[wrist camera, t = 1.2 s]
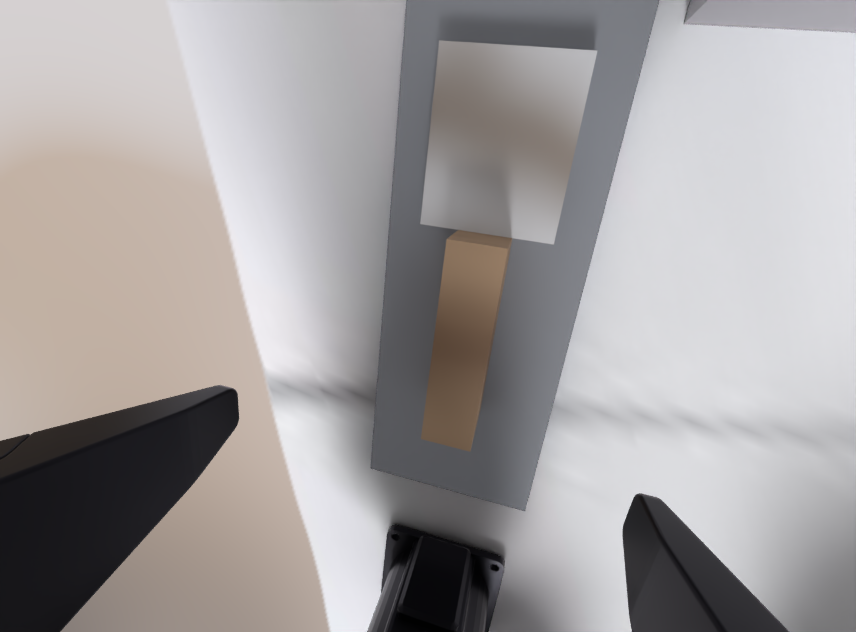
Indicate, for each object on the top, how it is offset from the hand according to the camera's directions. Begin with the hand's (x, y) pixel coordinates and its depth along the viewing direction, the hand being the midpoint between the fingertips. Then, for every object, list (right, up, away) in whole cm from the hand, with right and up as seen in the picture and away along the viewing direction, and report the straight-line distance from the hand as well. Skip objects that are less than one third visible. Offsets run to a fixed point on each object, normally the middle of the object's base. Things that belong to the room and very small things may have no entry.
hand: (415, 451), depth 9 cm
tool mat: (+3, +5, +8) cm, 10 cm away
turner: (+2, +4, +8) cm, 9 cm away
